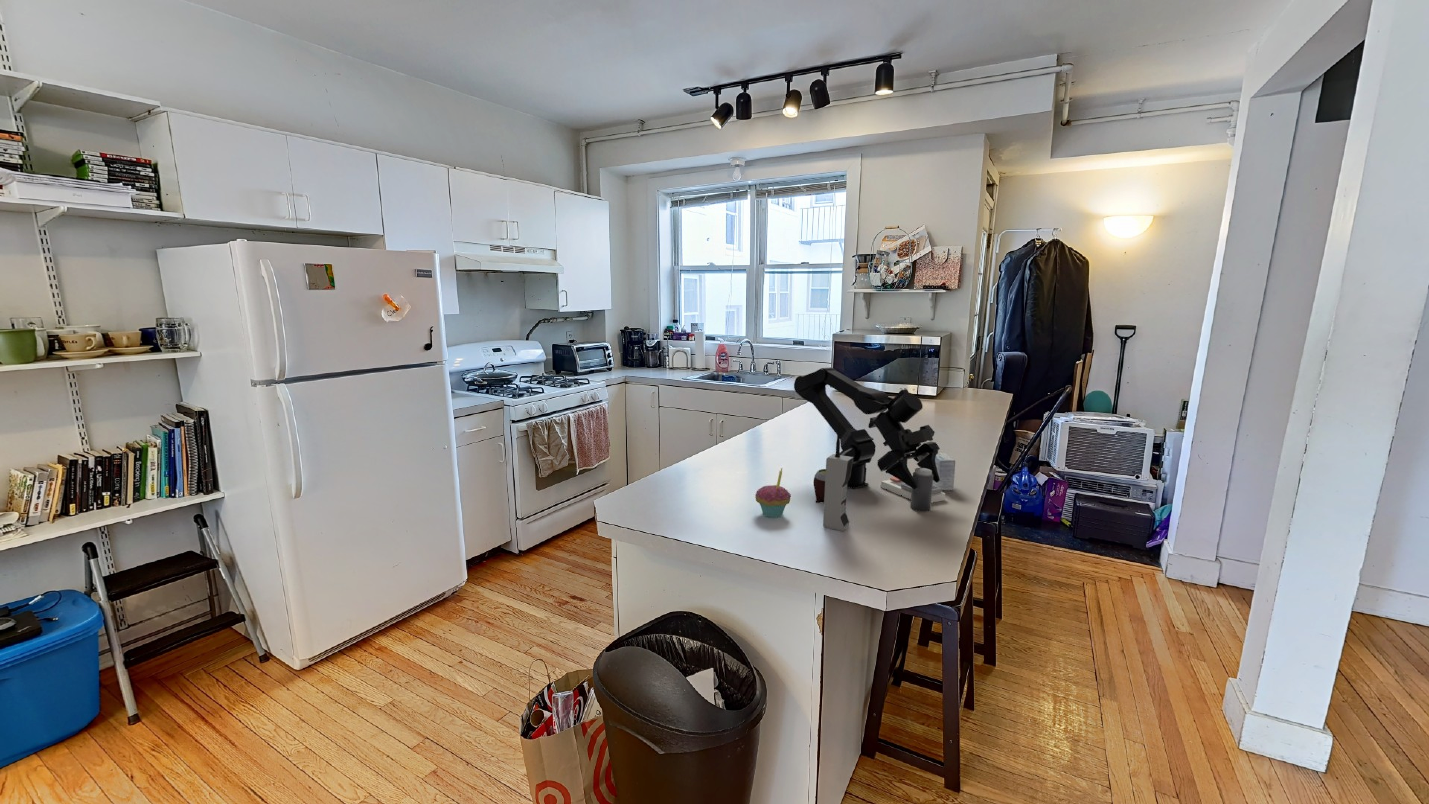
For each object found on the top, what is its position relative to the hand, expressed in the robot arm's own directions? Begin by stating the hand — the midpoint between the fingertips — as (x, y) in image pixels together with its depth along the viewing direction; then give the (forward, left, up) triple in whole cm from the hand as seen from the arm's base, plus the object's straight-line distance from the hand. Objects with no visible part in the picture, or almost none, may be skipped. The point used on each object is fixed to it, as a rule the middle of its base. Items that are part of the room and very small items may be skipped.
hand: (927, 484), depth 142 cm
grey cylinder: (0, +1, -7) cm, 7 cm away
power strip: (+6, +10, -7) cm, 14 cm away
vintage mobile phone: (-27, +1, -7) cm, 28 cm away
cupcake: (-36, +14, -7) cm, 39 cm away
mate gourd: (-18, +15, -7) cm, 25 cm away
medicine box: (+19, +11, -7) cm, 23 cm away
